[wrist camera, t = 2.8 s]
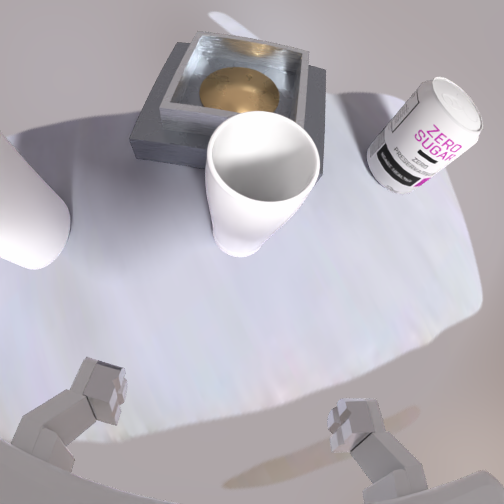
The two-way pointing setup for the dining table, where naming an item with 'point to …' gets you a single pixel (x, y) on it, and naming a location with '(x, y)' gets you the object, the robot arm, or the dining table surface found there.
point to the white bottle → (29, 213)
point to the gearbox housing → (226, 95)
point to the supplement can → (424, 136)
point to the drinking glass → (257, 178)
